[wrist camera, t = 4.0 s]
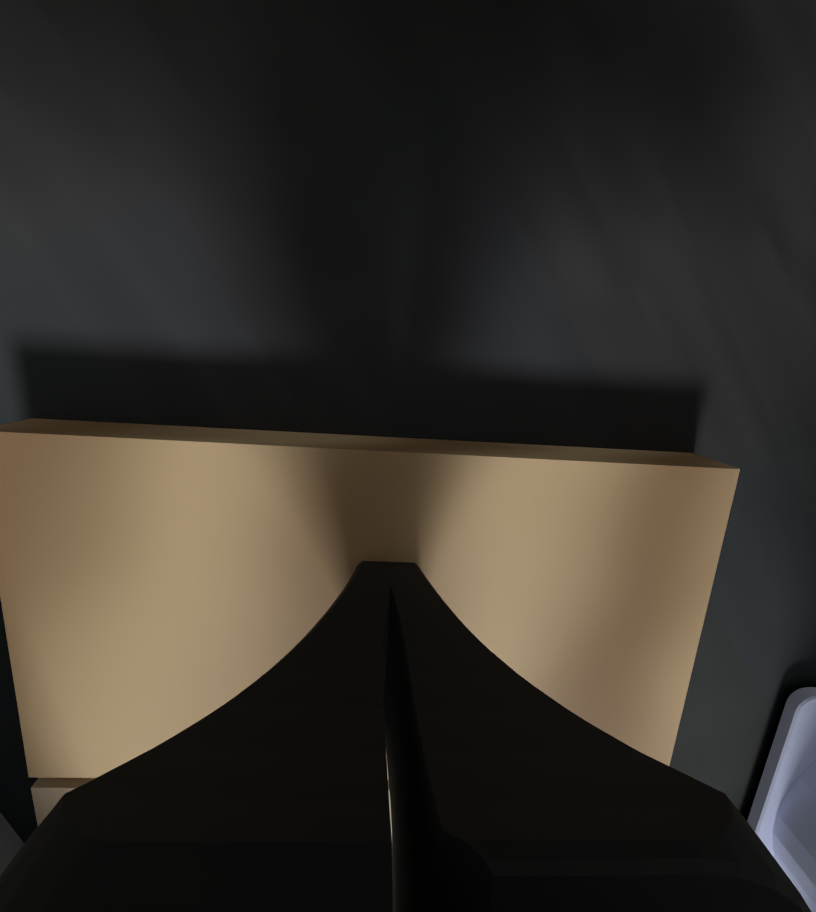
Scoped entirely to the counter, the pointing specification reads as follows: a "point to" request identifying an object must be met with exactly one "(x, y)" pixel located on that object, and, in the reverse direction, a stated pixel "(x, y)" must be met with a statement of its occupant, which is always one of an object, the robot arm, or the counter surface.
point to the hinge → (8, 843)
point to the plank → (336, 569)
